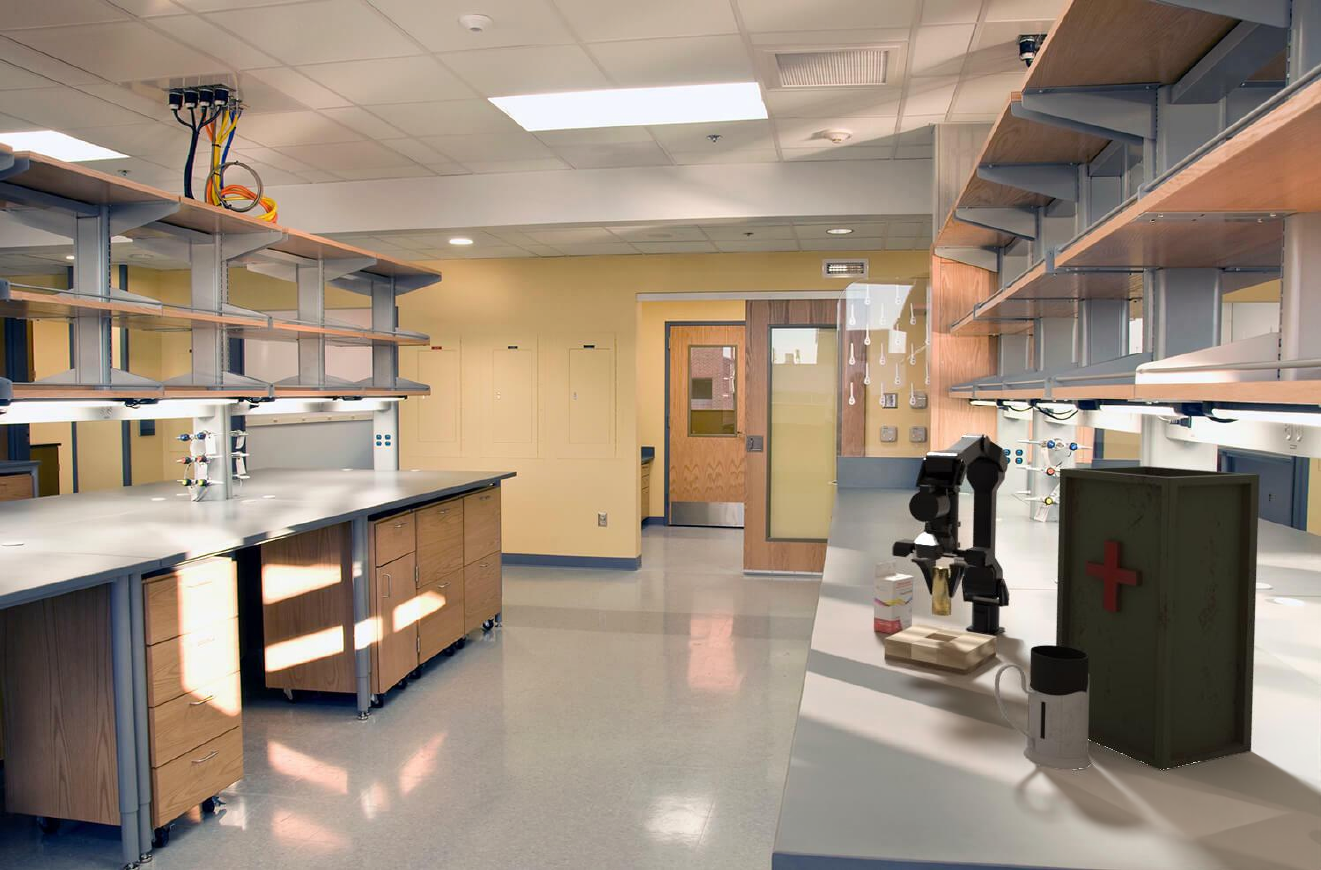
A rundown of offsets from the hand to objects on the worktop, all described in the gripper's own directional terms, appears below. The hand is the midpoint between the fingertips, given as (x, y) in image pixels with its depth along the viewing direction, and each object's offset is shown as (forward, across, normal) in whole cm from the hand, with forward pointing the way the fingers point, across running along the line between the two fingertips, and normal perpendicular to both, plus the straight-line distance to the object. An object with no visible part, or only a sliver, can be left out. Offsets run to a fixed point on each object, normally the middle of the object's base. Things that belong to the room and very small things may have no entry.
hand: (941, 596), depth 178 cm
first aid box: (+12, +41, -21) cm, 48 cm away
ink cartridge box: (+12, -17, +15) cm, 26 cm away
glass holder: (+12, +31, -40) cm, 52 cm away
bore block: (+12, 0, 0) cm, 12 cm away
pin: (+3, 0, 0) cm, 3 cm away
